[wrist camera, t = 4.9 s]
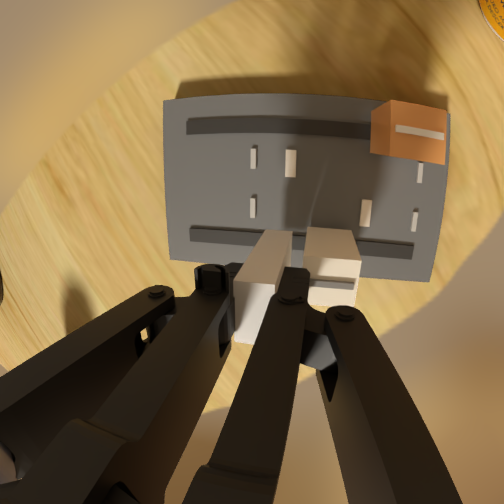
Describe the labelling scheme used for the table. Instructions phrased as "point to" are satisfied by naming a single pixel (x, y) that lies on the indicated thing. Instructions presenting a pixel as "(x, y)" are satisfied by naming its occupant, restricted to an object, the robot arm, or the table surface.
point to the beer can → (494, 15)
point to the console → (295, 181)
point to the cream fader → (331, 266)
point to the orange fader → (409, 131)
